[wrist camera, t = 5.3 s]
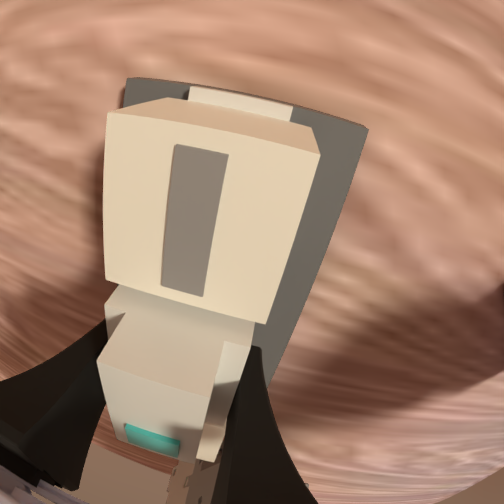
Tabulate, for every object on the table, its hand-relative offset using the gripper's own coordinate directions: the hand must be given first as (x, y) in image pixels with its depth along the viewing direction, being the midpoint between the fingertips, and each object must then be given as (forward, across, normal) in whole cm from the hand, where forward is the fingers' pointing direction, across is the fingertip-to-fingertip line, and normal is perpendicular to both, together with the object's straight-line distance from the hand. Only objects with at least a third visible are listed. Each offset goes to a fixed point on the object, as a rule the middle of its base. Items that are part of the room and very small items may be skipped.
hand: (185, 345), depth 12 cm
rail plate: (+4, 0, 0) cm, 4 cm away
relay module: (+2, 0, 0) cm, 2 cm away
